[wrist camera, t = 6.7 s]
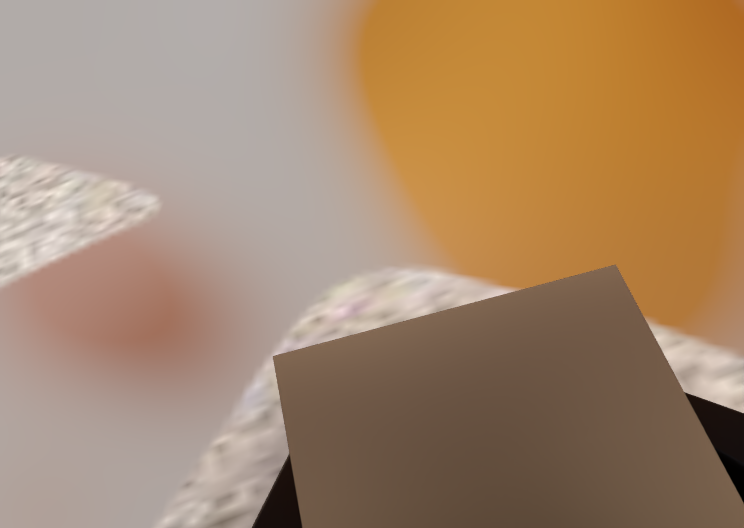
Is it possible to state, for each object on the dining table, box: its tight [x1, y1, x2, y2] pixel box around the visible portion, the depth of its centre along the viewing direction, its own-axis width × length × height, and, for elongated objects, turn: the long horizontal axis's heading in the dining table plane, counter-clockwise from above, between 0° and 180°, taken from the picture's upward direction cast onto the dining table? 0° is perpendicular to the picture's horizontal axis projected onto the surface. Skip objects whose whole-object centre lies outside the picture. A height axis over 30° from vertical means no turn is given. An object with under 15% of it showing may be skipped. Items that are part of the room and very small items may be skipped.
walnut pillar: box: [273, 265, 744, 528], centre depth 10 cm, size 5×5×10 cm
